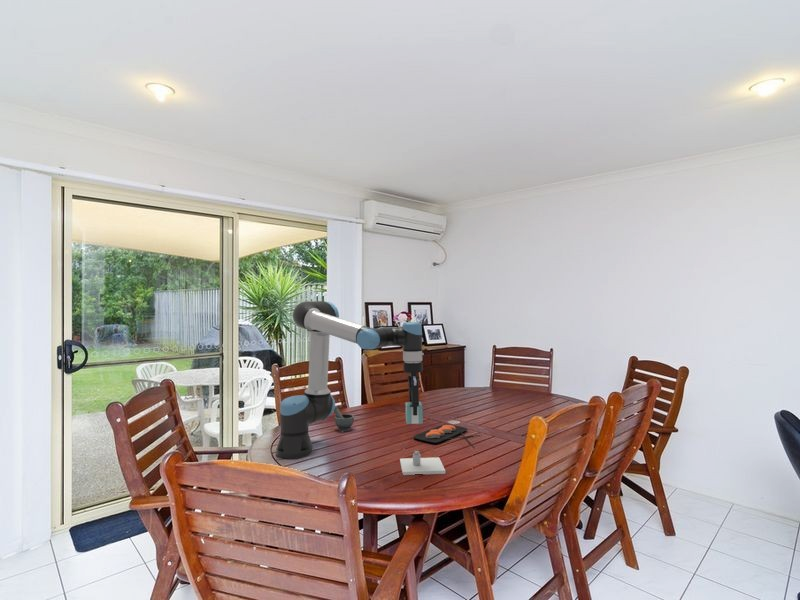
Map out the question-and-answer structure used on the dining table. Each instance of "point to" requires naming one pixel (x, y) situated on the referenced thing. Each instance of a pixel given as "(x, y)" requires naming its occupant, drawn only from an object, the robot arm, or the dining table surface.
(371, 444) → the dining table surface
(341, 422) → the mortar and pestle
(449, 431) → the sushi plate
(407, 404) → the cap
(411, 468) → the stud board
